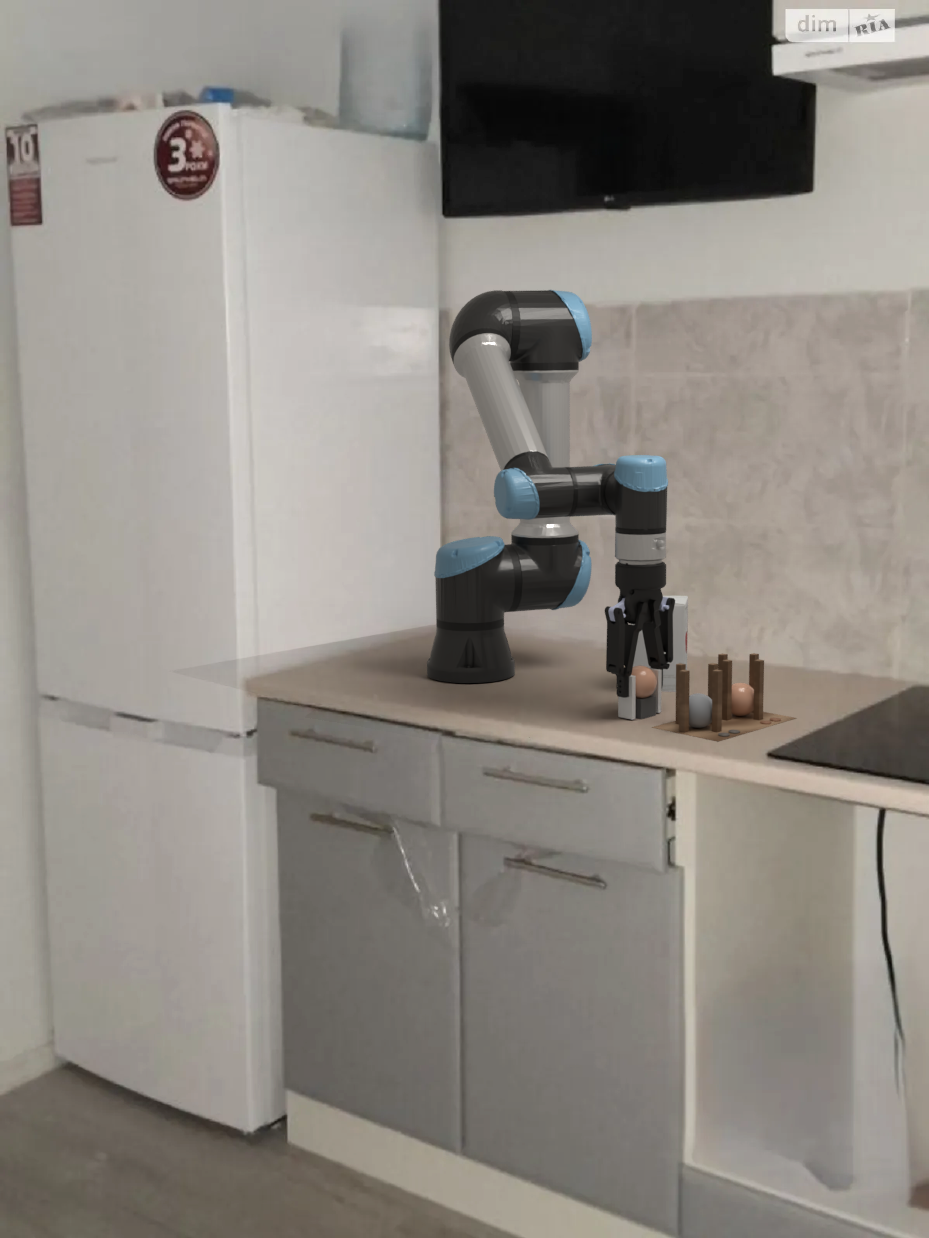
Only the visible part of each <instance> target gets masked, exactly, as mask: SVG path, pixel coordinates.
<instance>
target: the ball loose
mask: <svg viewBox="0 0 929 1238" xmlns="http://www.w3.org/2000/svg"><path fill="white" fill-rule="evenodd" d="M631 675H633V676H636V698H638V699H643V698H647V697H649V696H650V695H651V694H652V693H653V692H654V691H655V689H656V686H657V679H656V676H655V674H654V672H653V671H652V670H651V669H650V668H648V667H646V666H641V665H639V666H634V667H633V669H632V674H631Z"/></svg>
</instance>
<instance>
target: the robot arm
mask: <svg viewBox="0 0 929 1238" xmlns="http://www.w3.org/2000/svg"><path fill="white" fill-rule="evenodd" d="M450 328H451V329H450V333H449V340H448V341H449V342H448V348H449V354H450V358H451V361H452V364H453V366H454V369H455V371H456V373H457V374H458V375H459V376H461V377H463V378H464V379H465V380H466V383H467V385H468V387H469V391H470V393H471V396H472V399H473V401H474V404H475V407H476V409H477V411H478V414H479V418H480V419H481V422H482V425H483V427H484V430H485V433H486V434H487V435H486V436H487V439H488V440H489V443H490V446H491V449H492V451H493V454H494V456H495V459H496V461H497V464H498V467H499V469H500V471H499V472H498V473H497V474H496V477H495V480H494V485H493V497H494V498H495V499H494V500H495V501H494V502H495V507H496V510H497V512H498V513H499V515H500V516H501V517H503V518H504V519H507V520H519V523H518V525H517V526H516V527H515V528H514V529H513V530H512V531H511V532H510V533H511V534H510V535H511V536H510V537H511V539H510V540H511V541H510V543H511V544H510V543H509V544H505V542H504V539H503V538H501V537H500V536H494V535H492V536H491V535H487V536H481V537H480V536H475V537H467V538H463V539H458V540H455V541H450V542H448V543H445V544H444V545H442V546H441V547H439V548H438V550H437V551H436V554H435V566H434V567H435V568H434V572H433V575H434V577H435V615H436V616H435V617H436V619H435V621H436V625H435V626H436V628H435V629H436V631H435V636H434V639H433V643H432V646H431V652H430V656H429V657H428V658H427V662H426V674H427V675H426V676H427V677H428V678H430V679H431V680H435V681H439V682H444V683H457V684H458V683H459V684H480V683H482V684H483V683H492V682H498V681H499V682H500V681H503V680H506V679H510V678H512V677H514V676H515V673H516V671H515V669H516V668H515V667H516V666H515V665H516V664H515V659H514V657H513V656H512V652H511V648H510V645H509V642H508V637H507V634H506V630H505V613H513V612H527V611H541V610H551V611H557V610H559V609H564V608H571V607H572V608H573V607H575V606H576V605H579V604H580V603H581V601H582V600H583V599H584V597H585V595H586V594H587V592H588V589H589V587H590V582H591V576H592V557H591V556H590V555H591V554H590V552H591V551H590V549H589V547H588V544H587V543H586V542H585V541H584V540H581V539H580V537H579V535H580V533H579V530H578V529H577V528H576V527H575V526H574V525H573V524H572V522H571V517H592V516H593V517H595V516H614V517H615V520H614V521H615V522H614V523H615V527H614V531H615V532H614V557H615V559H616V560H618V561H617V562H616V564H614V585H615V587H617V589H619V596H618V598H617V603H616V604H615V605H613V606H605V608H604V615H605V619H606V655H605V657H606V659H605V660H606V662H605V670H606V672H607V673H611V674H613V675H615V677H616V695H617V702H618V703H617V708H618V709H617V711H618V712H617V716H618V718H622V719H626V720H627V719H628V720H636V718H635V702H636V676H633V675H631V674H632V669H633V663H634V657H635V652H636V646H637V641H638V635H639V632H640V631H641V630H642V632H643V638H644V643H645V649H646V654H647V659H648V665H649V666H650V667H651V668H650V669H651V670H652V671H653V672H654V674H655V676H656V679H657V686H656V689H655V691H654V692H653V693H652V694H651V695H652V696H656V714H657V713H658V714H659V713H662V691H661V689H662V687H663V669H668V668H669V666H670V664H668V662H669V663H671V662H672V661H673V610H674V606H675V599H674V598H668V597H663V596H664V595H663V593H662V589H663V588H665V586H667V564H666V563H665V561H663V560H664V559H665V558H667V521H668V520H667V517H668V516H667V514H668V513H667V512H668V486H669V479H668V473H667V462H666V459H665V458H664V457H662V456H660V455H649V454H637V455H636V454H635V455H634V454H633V455H630V454H629V455H621V456H619V457H618V458H617V460H616V461H615V463H610V462H609V463H598V464H594V465H587V466H571V461H570V459H571V456H570V451H571V450H570V449H571V448H570V447H571V441H570V440H571V435H570V434H571V428H570V427H571V425H570V423H571V420H570V419H571V418H570V416H571V413H570V412H571V410H570V409H571V408H570V407H571V404H570V403H571V401H570V400H571V398H570V397H571V396H570V395H571V393H570V392H571V391H570V389H571V388H570V387H571V386H570V385H571V384H570V383H571V381H572V379H574V377H575V376H576V375H577V374H578V373H579V367H580V366H579V365H580V364H579V362H583V361H584V360H586V359H587V358H588V357H589V355H590V352H591V347H592V344H593V343H592V341H593V333H592V332H593V331H592V324H591V318H590V315H589V312H588V309H587V307H586V306H585V303H584V301H583V300H582V299H581V297H580V296H579V295H578V294H576V293H574V292H572V291H565V290H564V291H563V290H556V289H555V290H554V289H548V290H544V289H543V290H503V289H502V290H501V289H500V290H494V289H493V290H490V291H489V290H488V291H485V292H482V293H480V294H477V295H476V296H474V297H473V298H471V299H470V300H469V301H467V302H466V303H465V304H464V305H463V306H462V307H461V309H460V310H459V312H458V313H457V315H456V316H455V319H454V320H453V323H452V325H451V327H450ZM631 624H635V625H631ZM664 652H666V654H664Z"/></svg>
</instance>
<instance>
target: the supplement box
mask: <svg viewBox="0 0 929 1238" xmlns="http://www.w3.org/2000/svg"><path fill="white" fill-rule="evenodd" d="M663 597H668V598H674V599H675V606H674V610H673V661H672V662H671V663H669V662H668V664H670V666H669V668H668V669H663V687H662V689H661V692H665V693H666V692H670V693H671V692H672V693H676V664H679V663H682V664H686V670H688V643H689V642H688V640H689V639H688V635H689V633H688V625H689V624H688V623H689V596H688V595H663ZM630 625H635V624H630ZM664 654H666V652H664ZM639 665H641V666H646V667H648V668H651V667H650V666H649V665H648V659H647V654H646V649H645V643H644V638H643V632H642V630H641V631H640V632H639V635H638V641H637V646H636V652H635V657H634V663H633V667H634V666H639Z"/></svg>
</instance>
